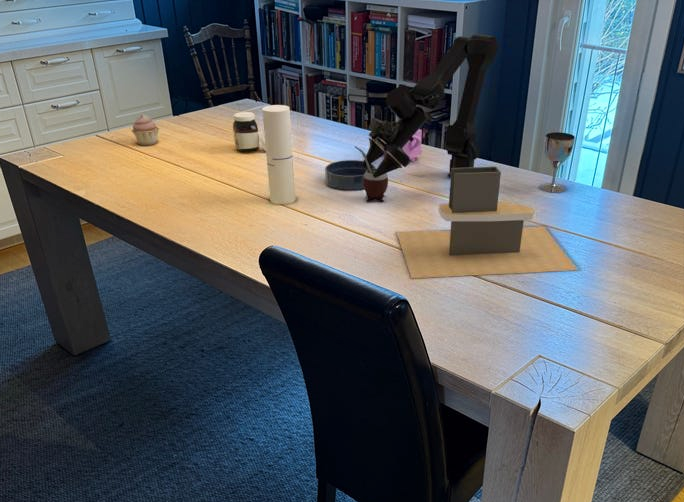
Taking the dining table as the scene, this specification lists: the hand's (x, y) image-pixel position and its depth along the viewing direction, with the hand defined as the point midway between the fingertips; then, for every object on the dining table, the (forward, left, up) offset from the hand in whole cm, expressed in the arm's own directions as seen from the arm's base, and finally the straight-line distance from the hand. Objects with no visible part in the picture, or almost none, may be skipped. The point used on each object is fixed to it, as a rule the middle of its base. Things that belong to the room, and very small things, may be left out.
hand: (368, 171), depth 186 cm
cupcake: (+96, +1, -8) cm, 96 cm away
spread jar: (+60, -15, -8) cm, 62 cm away
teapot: (+13, -35, -8) cm, 38 cm away
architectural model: (-42, +11, -8) cm, 44 cm away
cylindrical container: (+20, +14, -8) cm, 26 cm away
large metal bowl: (+13, -9, -8) cm, 18 cm away
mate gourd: (-1, -1, -8) cm, 9 cm away
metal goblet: (-38, -39, -8) cm, 55 cm away
